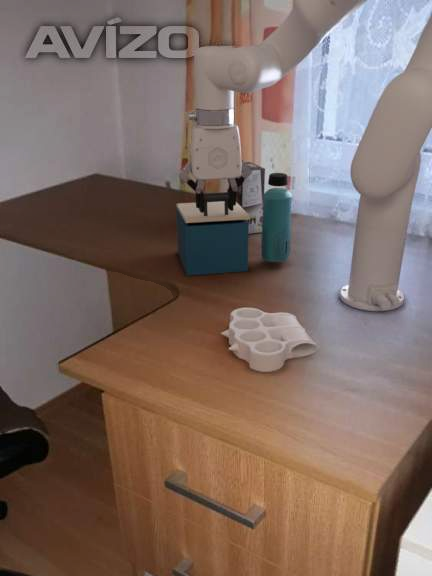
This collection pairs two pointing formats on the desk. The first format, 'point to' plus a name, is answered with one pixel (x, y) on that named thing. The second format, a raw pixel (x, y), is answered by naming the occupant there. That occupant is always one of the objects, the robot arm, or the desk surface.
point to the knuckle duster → (267, 338)
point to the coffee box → (253, 197)
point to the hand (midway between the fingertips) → (215, 209)
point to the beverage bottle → (276, 220)
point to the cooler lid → (212, 210)
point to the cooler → (213, 246)
